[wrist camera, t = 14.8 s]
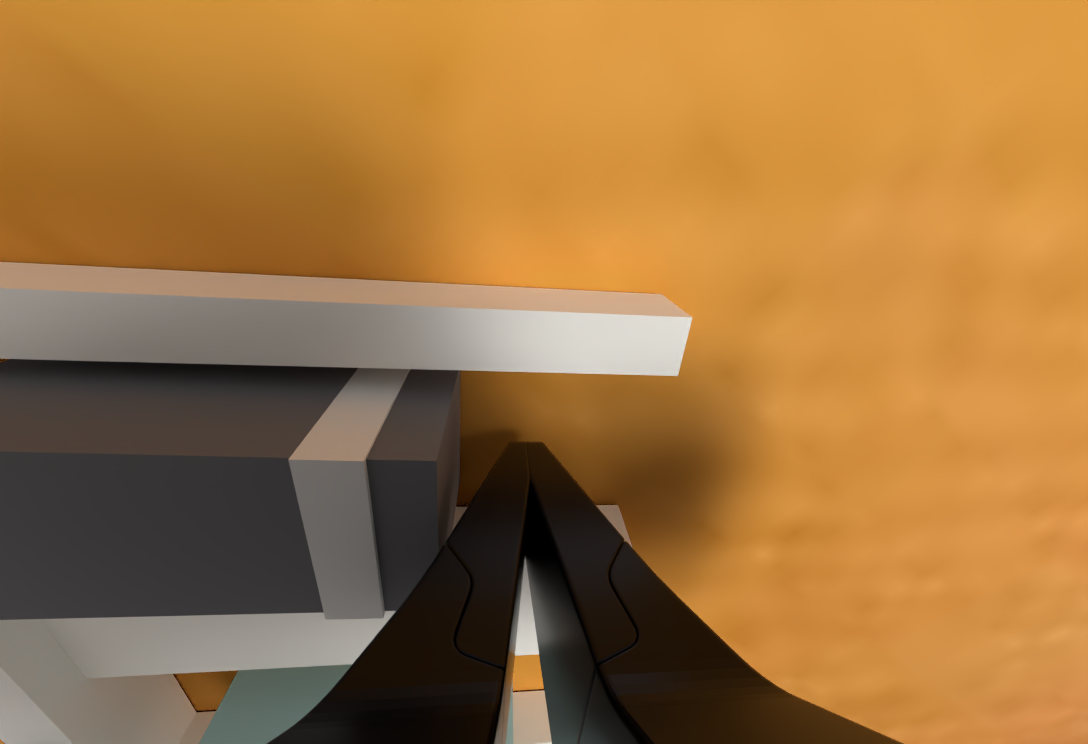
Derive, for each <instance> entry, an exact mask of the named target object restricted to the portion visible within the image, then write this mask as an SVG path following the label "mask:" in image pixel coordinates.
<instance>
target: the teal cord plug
mask: <svg viewBox="0 0 1088 744" xmlns="http://www.w3.org/2000/svg"><path fill="white" fill-rule="evenodd" d="M351 665H352V664H348V665H329V666H310V667H291V668H273V669H254V670H238V672H237V674H236V676H235V677H234V679H233V681H232V683H231V685H230V687H229V689H228V690H227V692H226V694H225V696H224V698H223V700H222V701H221V703H220V705H219V707H218V709H217V711H216V713H215V714H214V716H213V718H212V720H211V722H210V724H209V726H208V727H207V729H206V731H205V733H204V735H203V737H202V739H201V740H200V742H199V744H267V743H268V742H270V741H271V740H273V739H274V738H276V737H277V736H279V735H280V734H282V733H283V732H285V731H286V730H287V729H289V728H290V727H292V726H293V725H294V724H296V723H297V722H298V721H299V720H300V719H302V718H303V717H304V716H305V715H306V714H307V713H308V712H310V711H311V710H312V709H313V708H314V707H315V706H316V705H317V704H318V703H319V702H320V701H321V700H322V699H323V698H324V697H325V696H326V695H327V694H328V693H329V692H330V690H331V689H332V688H333V687H334V686H335V685H336V683H337V682H338V681H339V680H340V679H341V677H342V676H343V675H344V674H345V673H346V671H347V670H348V669H349V668H350V667H351ZM506 744H513V685H512V687H511V697H510V707H509V716H508V726H507V736H506Z"/></svg>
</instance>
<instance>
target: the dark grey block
mask: <svg viewBox="0 0 1088 744" xmlns="http://www.w3.org/2000/svg"><path fill="white" fill-rule="evenodd" d="M459 483H460V370H426V369H387V368H347V367H308V366H268V365H229V364H189V363H150V362H110V361H71V360H32V359H9V360H7V361H4V362H1V363H0V620H21V619H64V618H108V617H151V616H194V615H238V614H281V613H324V616H325V620H333V619H373V618H384V615H385V611H396V610H397V609H398V608H399V607H400V605H401V604H402V603H403V602H404V600H405V599H406V598H407V596H408V595H409V594H410V593H411V591H412V590H413V589H414V587H415V586H416V585H417V584H418V582H419V581H420V579H421V578H422V576H423V575H424V573H425V572H426V570H427V569H428V568H429V566H430V565H431V563H432V562H433V560H434V559H435V557H436V556H437V554H438V552H439V551H440V549H441V548H442V546H443V545H445V542H446V540H447V539H448V537H449V535H450V534H451V532H452V529H453V523H454V516H455V509H456V503H457V496H458V489H459Z"/></svg>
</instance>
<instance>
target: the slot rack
mask: <svg viewBox="0 0 1088 744" xmlns="http://www.w3.org/2000/svg"><path fill="white" fill-rule="evenodd" d="M691 321H692V317H691V316H690V315H688V314H687V313H686V312H684V311H683V310H682V309H680V308H679V307H678V306H676V305H675V304H674V303H673V302H671V301H670V300H669V299H667V298H666V297H665V296H663V295H662V294H649V293H629V292H608V291H588V290H567V289H547V288H526V287H506V286H485V285H465V284H444V283H424V282H403V281H383V280H363V279H342V278H322V277H301V276H281V275H260V274H240V273H219V272H199V271H178V270H158V269H137V268H117V267H96V266H76V265H56V264H35V263H15V262H0V359H32V360H71V361H110V362H150V363H189V364H229V365H268V366H308V367H347V368H387V369H426V370H465V371H505V372H544V373H584V374H623V375H663V376H678V373H679V369H680V365H681V361H682V357H683V353H684V349H685V345H686V341H687V337H688V333H689V329H690V325H691ZM596 506H597V507H598V508H599V509H600V511H601V512H602V513H603V514H604V515H605V516H606V518H607V519H608V520H609V521H610V522H611V524H612V525H613V526H614V527H615V528H616V529H617V531H618V532H619V533H620V534H621V535H622V536H623V538H624V541H627V542H628V543H629V545H630V546H631V547H632V544H631V541H630V539H629V536H628V533H627V530H626V527H625V524H624V521H623V518H622V515H621V512H620V509H619V506H618V505H596ZM466 509H467V507H456V509H455V516H454V523H453V529H454V528H455V526H456V524H457V523H458V521H459V520H460V518H461V517H462V515H463V513H464V512H465V510H466ZM453 529H452V531H453ZM632 548H633V547H632ZM395 612H396V611H385V615H384V618H373V619H333V620H325V616H324V613H281V614H238V615H194V616H151V617H108V618H64V619H21V620H0V739H1V740H2V741H3V742H4V743H5V744H199V742H200V740H201V739H202V737H203V735H204V733H205V731H206V729H207V727H208V726H209V724H210V722H211V720H212V718H213V716H214V714H215V713H216V711H211V712H196V711H195V709H194V707H193V706H192V704H191V703H190V701H189V699H188V698H187V696H186V694H185V693H184V691H183V690H182V688H181V686H180V685H179V683H178V681H177V680H176V678H175V677H174V675H173V674H179V673H198V672H216V671H235V670H254V669H273V668H291V667H310V666H329V665H348V664H353V663H354V662H355V660H356V659H357V658H358V657H359V656H360V654H361V653H362V652H363V651H364V649H365V648H366V647H367V646H368V645H369V643H370V642H371V641H372V640H373V638H374V637H375V636H376V635H377V634H378V632H379V631H380V630H381V629H382V628H383V626H384V625H385V624H386V623H387V621H388V620H389V619H390V618H391V617H392V615H393V614H394V613H395ZM535 654H539V649H538V642H537V635H536V628H535V621H534V614H533V607H532V600H531V593H530V586H529V579H528V572H527V565H526V558H525V561H524V571H523V581H522V590H521V600H520V610H519V619H518V629H517V639H516V648H515V656H516V655H535ZM513 744H552V740H551V733H550V726H549V719H548V712H547V705H546V698H545V691H544V690H541V691H526V692H513Z"/></svg>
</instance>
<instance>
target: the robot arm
mask: <svg viewBox="0 0 1088 744" xmlns="http://www.w3.org/2000/svg"><path fill="white" fill-rule="evenodd" d="M525 558H526V565H527V572H528V579H529V586H530V593H531V600H532V607H533V614H534V621H535V628H536V635H537V642H538V649H539V656H540V663H541V670H542V677H543V684H544V691H545V698H546V705H547V712H548V719H549V726H550V733H551V740H552V744H903V743H901V742H899V741H896V740H894V739H892V738H890V737H887V736H885V735H883V734H880V733H878V732H876V731H874V730H871V729H869V728H867V727H865V726H862V725H860V724H858V723H855V722H853V721H851V720H849V719H846V718H844V717H842V716H839V715H837V714H835V713H833V712H830V711H828V710H826V709H824V708H821V707H819V706H817V705H814V704H812V703H810V702H808V701H805V700H803V699H801V698H799V697H796V696H794V695H792V694H790V693H788V692H786V691H785V690H783V689H781V688H779V687H778V686H776V685H775V684H773V683H772V682H770V681H769V680H768V679H766V678H765V677H763V676H762V675H761V674H760V673H758V672H757V671H756V670H755V669H753V668H752V667H751V666H750V665H749V664H748V663H746V662H745V661H744V660H743V659H742V658H741V657H740V656H739V655H738V654H737V653H736V652H735V651H734V650H733V649H731V648H730V647H729V646H728V645H727V644H726V643H725V642H724V641H723V640H722V639H721V638H720V637H719V636H718V635H717V634H716V633H715V632H714V631H713V630H712V629H711V628H710V627H709V626H708V625H707V624H706V623H704V622H703V621H702V620H701V619H700V618H699V617H698V616H697V615H696V614H695V613H694V612H693V611H692V610H691V609H690V608H689V607H688V606H687V605H686V604H685V603H684V602H683V601H682V600H681V599H680V598H679V597H678V596H677V595H676V594H675V593H674V592H673V591H672V590H671V589H670V588H669V587H668V586H667V585H666V584H665V583H664V582H663V581H662V580H661V579H660V578H659V577H658V576H657V575H656V574H655V573H654V572H653V571H652V570H651V569H650V567H649V566H648V565H647V564H646V563H645V562H644V561H643V560H642V558H641V557H640V556H639V555H638V554H637V553H636V552H635V550H634V549H633V548H632V547H631V546H630V545H629V543H628V542H627V541H624V538H623V536H622V535H621V534H620V533H619V532H618V531H617V529H616V528H615V527H614V526H613V525H612V524H611V522H610V521H609V520H608V519H607V518H606V516H605V515H604V514H603V513H602V512H601V511H600V509H599V508H598V507H597V506H596V505H595V503H594V502H593V501H592V500H591V499H590V498H589V496H588V495H587V494H586V493H585V492H584V490H583V489H582V488H581V487H580V486H579V485H578V483H577V482H576V481H575V480H574V479H573V477H572V476H571V475H570V474H569V473H568V472H567V470H566V469H565V468H564V467H563V466H562V465H561V463H560V462H559V461H558V460H557V459H556V457H555V456H554V455H553V454H552V453H551V452H550V450H549V449H548V448H547V447H546V446H545V444H544V443H542V442H509V443H508V444H507V446H506V447H505V449H504V451H503V452H502V454H501V455H500V457H499V458H498V460H497V462H496V463H495V465H494V466H493V468H492V469H491V471H490V473H489V474H488V476H487V477H486V479H485V480H484V482H483V484H482V485H481V487H480V488H479V490H478V491H477V493H476V495H475V496H474V498H473V499H472V501H471V502H470V504H469V506H468V507H467V509H466V510H465V512H464V513H463V515H462V517H461V518H460V520H459V521H458V523H457V524H456V526H455V528H454V529H453V531H452V532H451V534H450V535H449V537H448V539H447V540H446V542H445V545H443V546H442V548H441V549H440V551H439V552H438V554H437V556H436V557H435V559H434V560H433V562H432V563H431V565H430V566H429V568H428V569H427V570H426V572H425V573H424V575H423V576H422V578H421V579H420V581H419V582H418V584H417V585H416V586H415V587H414V589H413V590H412V591H411V593H410V594H409V595H408V596H407V598H406V599H405V600H404V602H403V603H402V604H401V605H400V607H399V608H398V609H397V610H396V612H395V613H394V614H393V615H392V617H391V618H390V619H389V620H388V621H387V623H386V624H385V625H384V626H383V628H382V629H381V630H380V631H379V632H378V634H377V635H376V636H375V637H374V638H373V640H372V641H371V642H370V643H369V645H368V646H367V647H366V648H365V649H364V651H363V652H362V653H361V654H360V656H359V657H358V658H357V659H356V660H355V662H354V663H353V664H352V665H351V667H350V668H349V669H348V670H347V671H346V673H345V674H344V675H343V676H342V677H341V679H340V680H339V681H338V682H337V683H336V685H335V686H334V687H333V688H332V689H331V690H330V692H329V693H328V694H327V695H326V696H325V697H324V698H323V699H322V700H321V701H320V702H319V703H318V704H317V705H316V706H315V707H314V708H313V709H312V710H311V711H310V712H308V713H307V714H306V715H305V716H304V717H303V718H302V719H300V720H299V721H298V722H297V723H296V724H294V725H293V726H292V727H290V728H289V729H287V730H286V731H285V732H283V733H282V734H280V735H279V736H277V737H276V738H274V739H273V740H271V741H270V742H268V743H267V744H506V736H507V726H508V716H509V707H510V697H511V687H512V678H513V668H514V658H515V648H516V639H517V629H518V619H519V610H520V600H521V590H522V581H523V571H524V561H525Z"/></svg>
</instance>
